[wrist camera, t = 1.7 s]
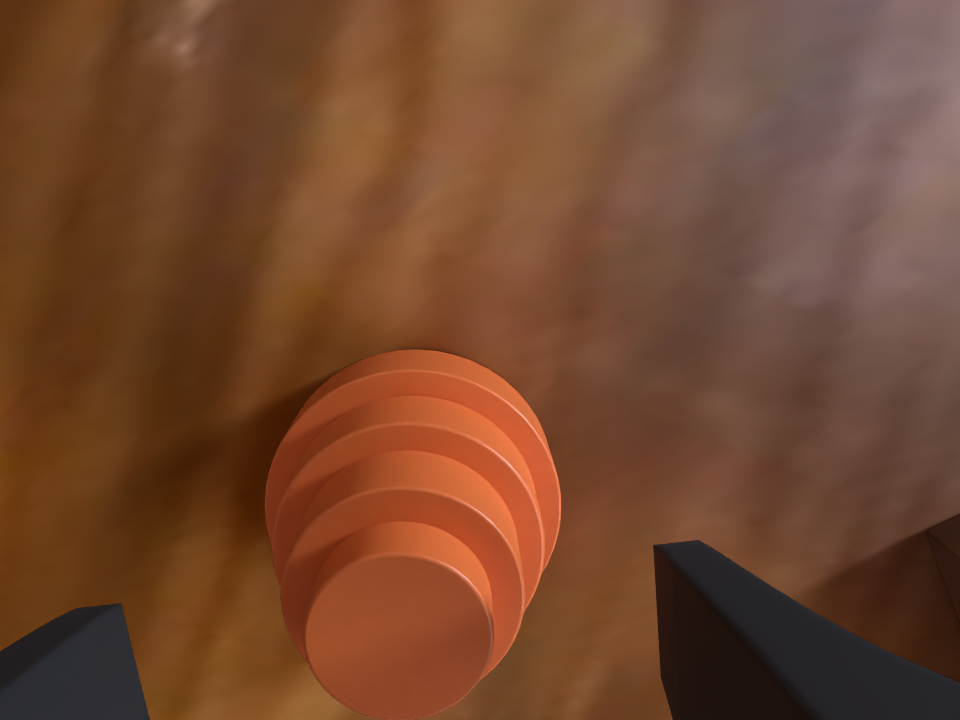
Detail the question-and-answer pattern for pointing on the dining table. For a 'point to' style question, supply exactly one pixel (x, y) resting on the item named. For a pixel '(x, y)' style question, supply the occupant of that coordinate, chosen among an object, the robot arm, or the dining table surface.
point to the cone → (410, 529)
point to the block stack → (948, 555)
